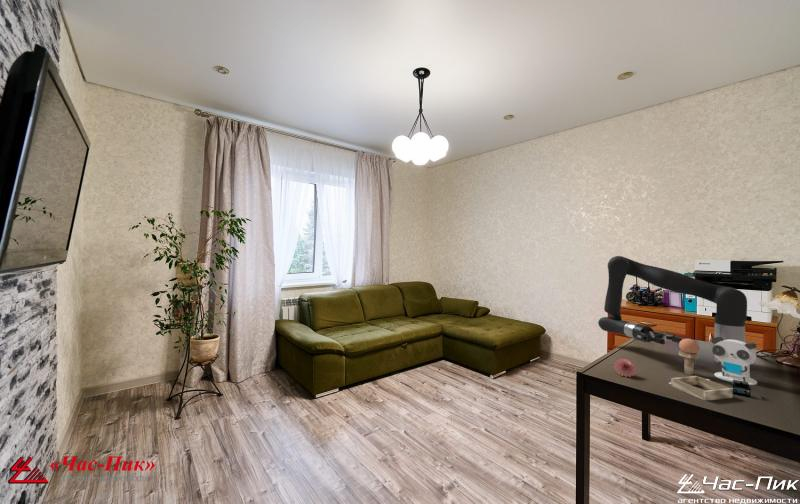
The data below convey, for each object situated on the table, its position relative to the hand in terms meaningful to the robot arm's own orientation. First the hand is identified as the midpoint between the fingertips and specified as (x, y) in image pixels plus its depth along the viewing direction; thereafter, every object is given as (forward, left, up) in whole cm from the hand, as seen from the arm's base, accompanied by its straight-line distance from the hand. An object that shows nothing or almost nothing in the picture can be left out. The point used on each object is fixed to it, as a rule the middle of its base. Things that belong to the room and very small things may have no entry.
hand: (672, 341), depth 133 cm
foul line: (+8, +13, -11) cm, 19 cm away
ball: (0, +6, 0) cm, 6 cm away
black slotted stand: (+1, +24, -12) cm, 27 cm away
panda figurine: (-12, +13, -11) cm, 21 cm away
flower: (+26, +3, -12) cm, 29 cm away
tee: (0, +6, -11) cm, 13 cm away
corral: (+13, +20, -11) cm, 27 cm away
